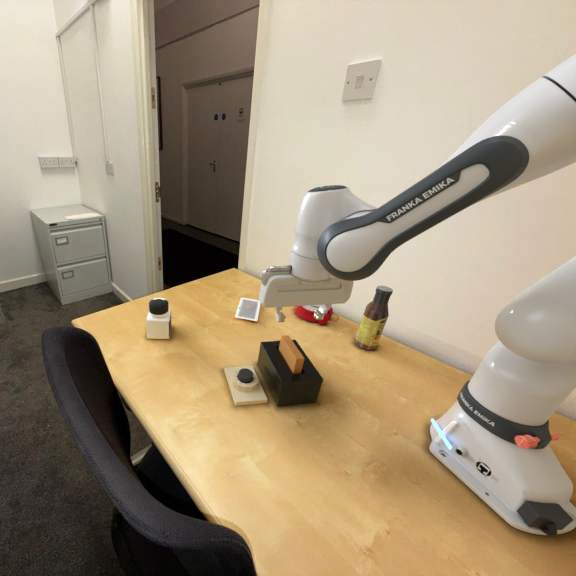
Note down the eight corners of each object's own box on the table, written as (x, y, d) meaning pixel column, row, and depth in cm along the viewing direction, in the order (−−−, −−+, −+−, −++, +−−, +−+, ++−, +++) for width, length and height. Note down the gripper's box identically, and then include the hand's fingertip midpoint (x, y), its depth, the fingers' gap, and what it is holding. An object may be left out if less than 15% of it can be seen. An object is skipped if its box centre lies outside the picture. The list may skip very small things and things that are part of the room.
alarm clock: (300, 295, 114) (342, 300, 104) (300, 309, 116) (342, 316, 106) (289, 305, 107) (333, 312, 97) (289, 321, 109) (333, 329, 99)
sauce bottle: (374, 353, 90) (396, 296, 81) (351, 345, 93) (370, 289, 84) (377, 343, 94) (399, 288, 85) (356, 335, 98) (374, 281, 89)
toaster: (316, 403, 73) (323, 379, 69) (277, 407, 72) (282, 382, 68) (290, 361, 86) (295, 339, 82) (257, 364, 85) (260, 341, 81)
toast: (296, 389, 74) (304, 358, 69) (289, 390, 74) (296, 359, 69) (282, 364, 82) (288, 335, 77) (275, 365, 82) (281, 335, 77)
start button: (254, 382, 75) (255, 377, 74) (240, 384, 74) (241, 379, 74) (249, 372, 78) (250, 367, 77) (236, 373, 78) (237, 368, 77)
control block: (267, 402, 73) (268, 394, 71) (235, 405, 72) (236, 397, 70) (251, 368, 83) (253, 360, 82) (224, 370, 82) (224, 362, 81)
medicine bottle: (169, 339, 94) (169, 307, 88) (147, 339, 94) (145, 306, 88) (171, 326, 100) (171, 295, 95) (150, 325, 100) (148, 294, 95)
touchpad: (260, 303, 115) (261, 298, 114) (256, 323, 103) (257, 318, 102) (240, 299, 117) (241, 294, 116) (234, 319, 105) (234, 314, 104)
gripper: (269, 272, 59) (260, 330, 65) (363, 268, 62) (346, 324, 68) (258, 261, 65) (251, 315, 71) (345, 257, 67) (331, 310, 73)
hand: (299, 319), depth 69 cm, fingers open, 8 cm apart
